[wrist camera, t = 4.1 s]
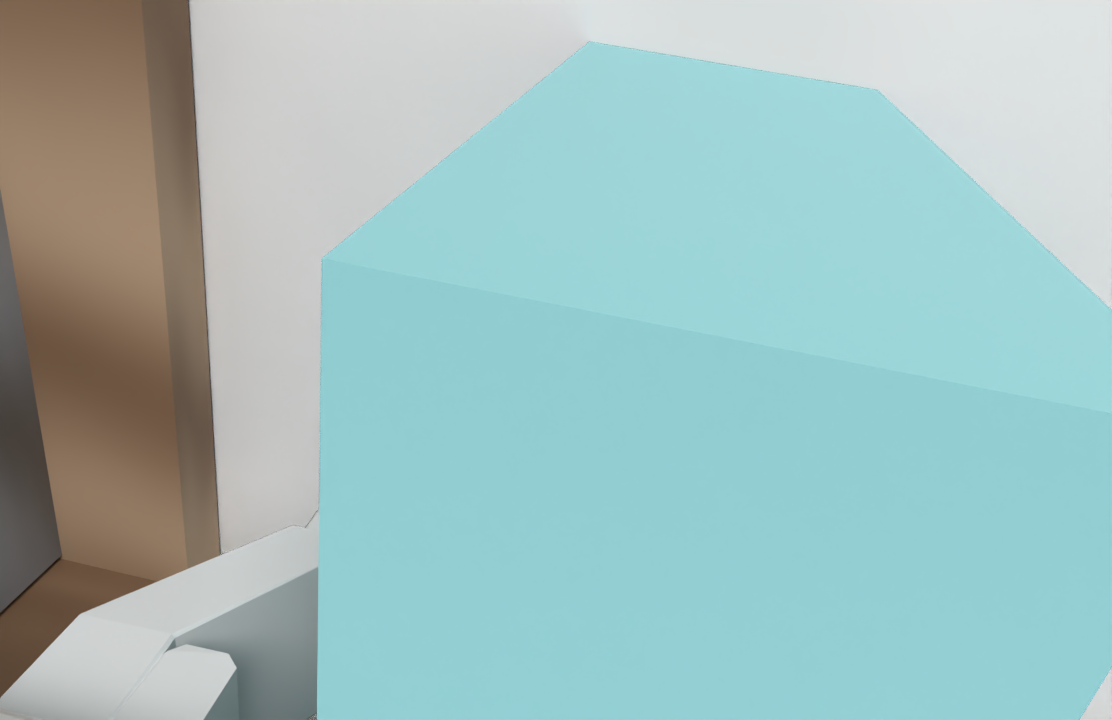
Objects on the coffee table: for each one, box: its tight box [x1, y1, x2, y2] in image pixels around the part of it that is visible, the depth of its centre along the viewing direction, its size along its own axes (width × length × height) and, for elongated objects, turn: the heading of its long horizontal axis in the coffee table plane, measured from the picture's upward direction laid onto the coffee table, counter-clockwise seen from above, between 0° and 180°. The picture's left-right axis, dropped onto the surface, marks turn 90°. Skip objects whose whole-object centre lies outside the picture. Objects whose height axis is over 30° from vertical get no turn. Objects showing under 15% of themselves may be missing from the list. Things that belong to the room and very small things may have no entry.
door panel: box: [317, 42, 1112, 720], centre depth 9 cm, size 10×4×8 cm, turn 172°
